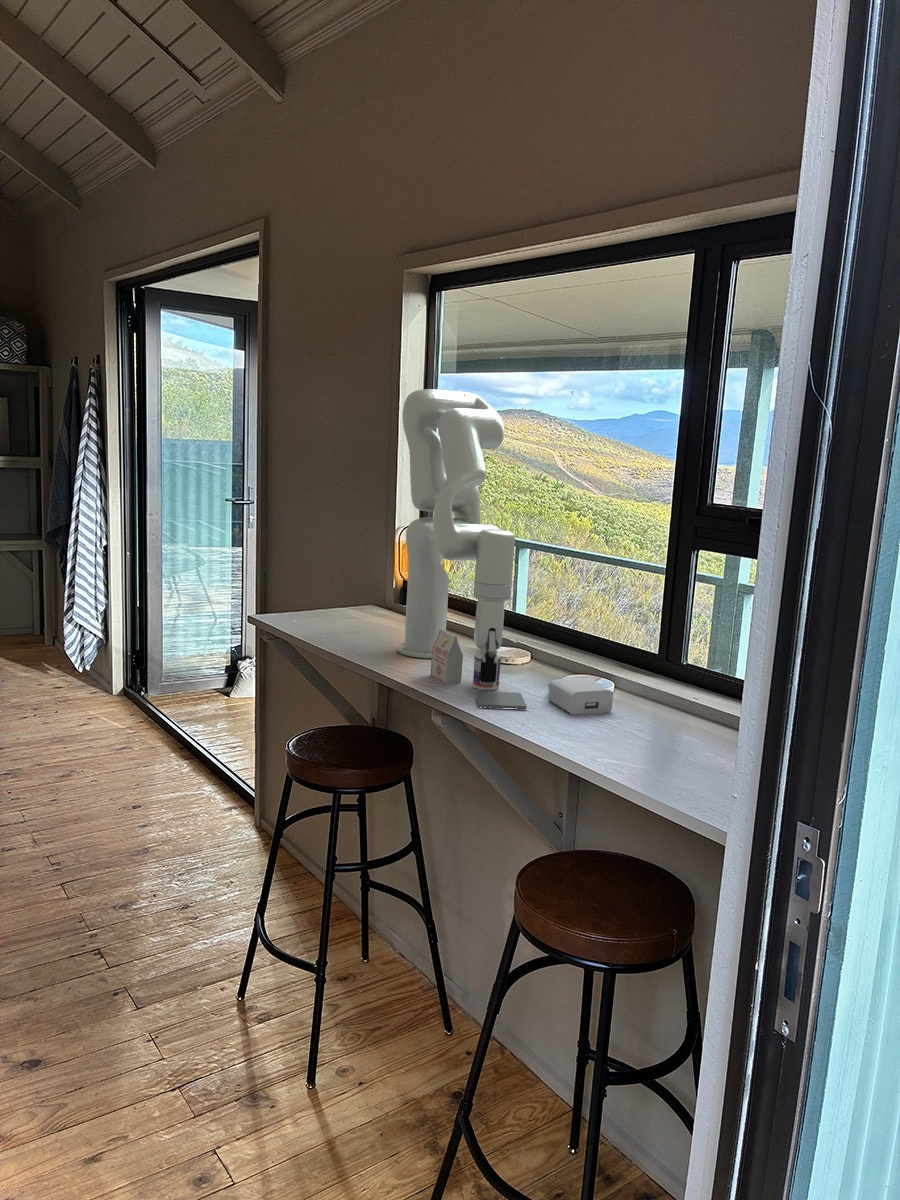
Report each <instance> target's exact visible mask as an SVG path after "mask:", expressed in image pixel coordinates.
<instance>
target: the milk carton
mask: <svg viewBox="0 0 900 1200" xmlns="http://www.w3.org/2000/svg"><path fill="white" fill-rule="evenodd" d="M430 660H431V662H430V663H431V664H430V676H431V677H432V678H434V679H436V680H437V681H439V682H441V683H443V684H445V685H450V684H461V683H462V674H463V673H462V672H463V661H464V654H463V652H462V649H461V646H460V643H459V640H458V636H456V635H454V634H452V633H451V632H448V631H447V630H446V631H444V630H442V629H441V630H440V631H439V634H438V637H437V639H436V641H435V644H434V646H433V648H432V658H430Z"/></svg>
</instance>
